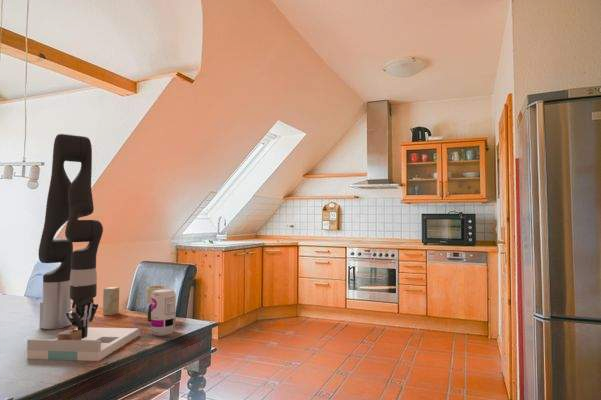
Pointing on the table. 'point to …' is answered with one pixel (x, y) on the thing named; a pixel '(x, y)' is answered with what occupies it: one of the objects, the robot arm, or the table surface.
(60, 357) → the board
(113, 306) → the box
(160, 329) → the supplement can
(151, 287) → the character mug
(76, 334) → the walnut block
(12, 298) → the table surface
